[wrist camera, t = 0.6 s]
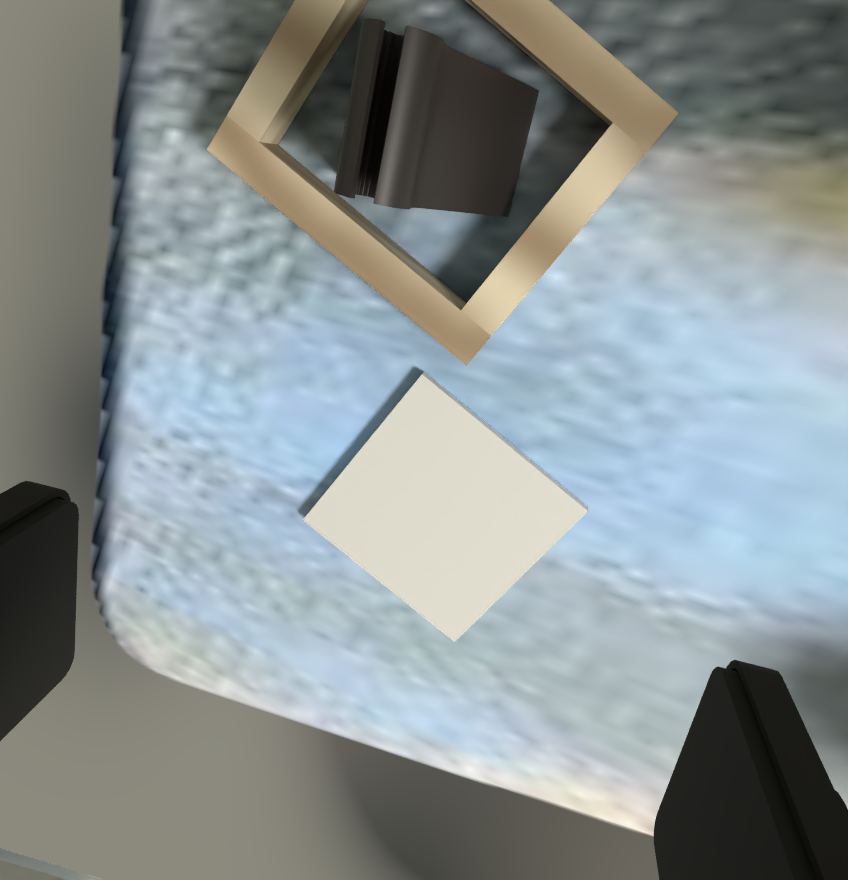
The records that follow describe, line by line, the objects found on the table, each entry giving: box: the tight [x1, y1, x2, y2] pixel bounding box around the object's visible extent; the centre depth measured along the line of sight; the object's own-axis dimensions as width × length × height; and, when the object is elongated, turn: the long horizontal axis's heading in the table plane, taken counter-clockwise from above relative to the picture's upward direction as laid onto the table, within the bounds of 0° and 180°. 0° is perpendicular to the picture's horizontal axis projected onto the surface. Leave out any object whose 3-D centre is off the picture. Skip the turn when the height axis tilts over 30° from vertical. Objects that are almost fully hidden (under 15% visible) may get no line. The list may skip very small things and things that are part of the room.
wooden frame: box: [207, 0, 679, 365], centre depth 37 cm, size 15×17×2 cm
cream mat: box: [303, 372, 588, 642], centre depth 44 cm, size 12×12×1 cm
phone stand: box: [334, 19, 539, 217], centre depth 32 cm, size 9×6×12 cm, turn 77°
